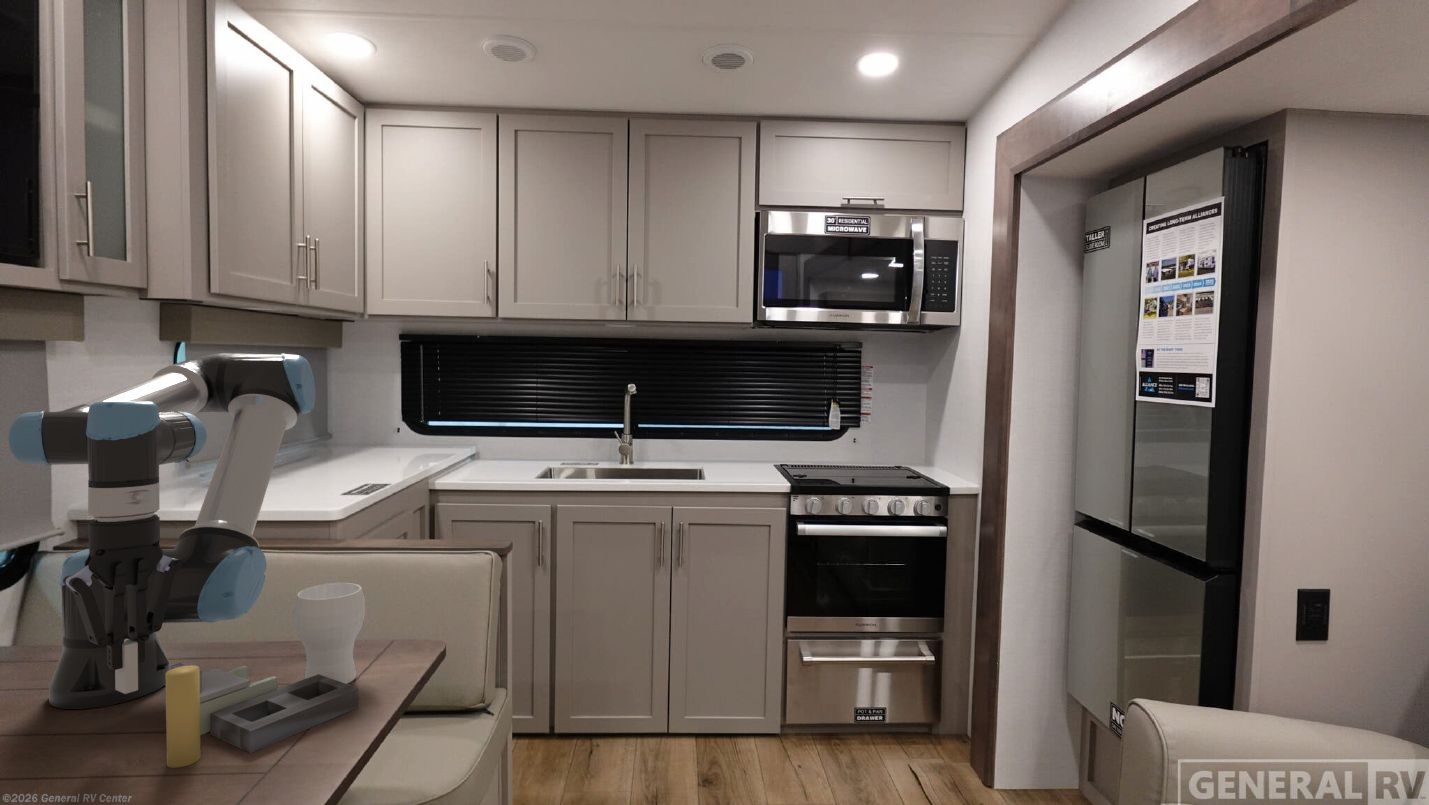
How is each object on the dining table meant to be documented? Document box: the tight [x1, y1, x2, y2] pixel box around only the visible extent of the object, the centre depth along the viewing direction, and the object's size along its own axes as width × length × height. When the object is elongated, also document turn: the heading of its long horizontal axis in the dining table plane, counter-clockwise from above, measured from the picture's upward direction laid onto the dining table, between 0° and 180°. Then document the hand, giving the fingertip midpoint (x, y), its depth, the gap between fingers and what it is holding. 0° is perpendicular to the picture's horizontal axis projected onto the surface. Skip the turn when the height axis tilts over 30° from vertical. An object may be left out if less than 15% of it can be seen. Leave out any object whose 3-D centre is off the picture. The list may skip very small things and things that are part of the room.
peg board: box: [210, 674, 359, 754], centre depth 110 cm, size 10×16×3 cm, turn 151°
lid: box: [170, 662, 251, 703], centre depth 110 cm, size 9×7×4 cm
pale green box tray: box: [200, 665, 278, 736], centre depth 112 cm, size 9×11×4 cm
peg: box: [165, 664, 202, 769], centre depth 98 cm, size 4×4×12 cm
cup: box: [292, 582, 366, 684], centre depth 124 cm, size 11×11×15 cm
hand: (126, 689), depth 101 cm, fingers closed
